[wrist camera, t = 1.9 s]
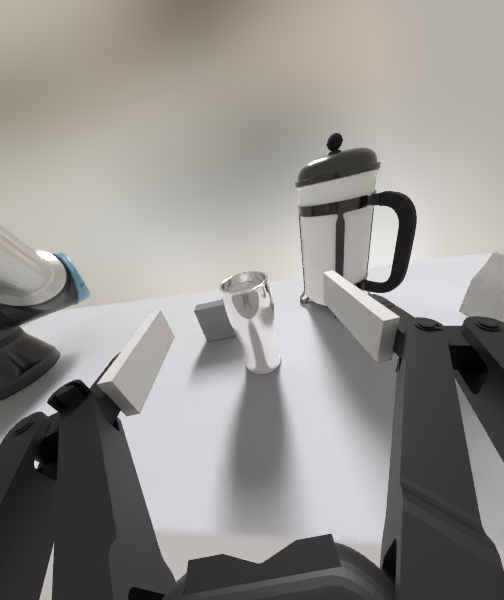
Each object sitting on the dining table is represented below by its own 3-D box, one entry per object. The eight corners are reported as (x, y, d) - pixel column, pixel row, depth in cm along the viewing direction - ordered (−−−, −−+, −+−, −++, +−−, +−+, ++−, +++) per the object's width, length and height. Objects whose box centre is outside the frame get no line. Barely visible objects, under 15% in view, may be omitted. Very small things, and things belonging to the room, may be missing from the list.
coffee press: (297, 322, 39) (277, 139, 24) (302, 286, 52) (291, 153, 37) (398, 323, 33) (451, 81, 18) (374, 282, 46) (395, 122, 31)
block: (249, 333, 39) (240, 300, 35) (207, 342, 39) (194, 311, 35) (248, 326, 41) (240, 295, 37) (208, 335, 41) (196, 304, 37)
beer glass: (267, 339, 36) (252, 267, 29) (292, 361, 30) (280, 277, 23) (236, 358, 33) (210, 283, 26) (256, 385, 28) (230, 300, 21)
